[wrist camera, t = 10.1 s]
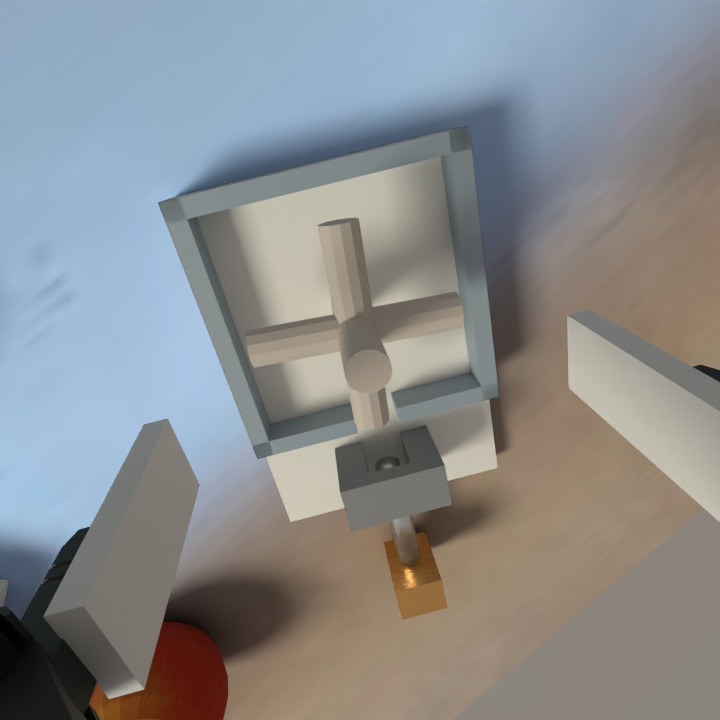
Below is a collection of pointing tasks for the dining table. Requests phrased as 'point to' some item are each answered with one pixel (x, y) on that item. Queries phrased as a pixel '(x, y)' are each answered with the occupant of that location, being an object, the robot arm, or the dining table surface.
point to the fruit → (174, 681)
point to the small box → (3, 591)
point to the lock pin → (412, 564)
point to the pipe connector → (355, 325)
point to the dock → (312, 299)
